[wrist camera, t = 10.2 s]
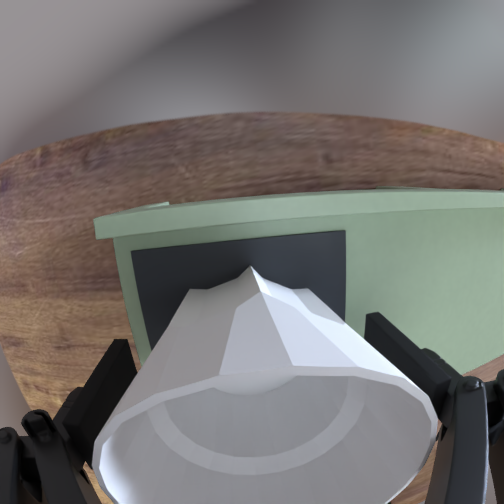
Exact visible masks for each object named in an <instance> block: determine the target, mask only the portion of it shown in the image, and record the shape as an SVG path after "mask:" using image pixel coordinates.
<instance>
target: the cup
mask: <svg viewBox="0 0 504 504" xmlns="http://www.w3.org/2000/svg"><path fill="white" fill-rule="evenodd" d="M437 422H438V417H437V415H436V413H435V410H434V408H433V405H432V403H431V401H430V398H429V396H428V395H427V394H426V393H424V392H423V391H422V390H421V389H420V388H419V387H418V386H417V385H415V384H414V383H413V382H412V381H411V380H410V379H409V378H407V377H406V376H405V375H404V374H403V373H402V372H401V371H400V370H398V369H397V368H396V367H395V366H394V365H393V364H392V363H390V362H389V361H388V360H387V359H386V358H385V357H384V356H383V355H381V354H380V353H379V352H378V351H377V350H376V349H375V348H373V347H372V346H371V345H370V344H369V343H368V342H367V341H365V340H364V339H363V338H362V337H361V336H360V335H359V334H357V333H356V332H355V331H354V330H353V329H352V328H351V327H349V326H348V325H347V324H346V323H345V322H344V321H343V320H342V319H341V318H340V317H339V316H338V315H337V314H336V313H334V312H333V311H332V310H331V309H330V308H329V307H328V306H327V305H326V304H325V303H324V302H322V301H321V300H320V299H319V298H318V297H317V296H316V295H315V294H314V293H313V292H311V291H310V290H309V289H308V288H305V289H289V288H287V287H284V286H281V285H279V284H276V283H274V282H271V281H269V280H266V279H264V278H262V277H261V276H260V275H259V274H258V273H257V272H256V271H255V270H254V268H253V267H252V266H251V265H250V266H249V267H248V268H247V269H246V270H245V271H244V272H243V273H242V274H241V275H240V276H239V277H238V278H236V279H234V280H231V281H228V282H226V283H223V284H221V285H218V286H216V287H213V288H210V289H208V290H206V289H189V291H188V293H187V294H186V296H185V298H184V300H183V301H182V303H181V305H180V306H179V308H178V310H177V311H176V313H175V315H174V317H173V318H172V320H171V322H170V324H169V326H168V327H167V329H166V330H165V332H164V333H163V335H162V336H161V338H160V340H159V341H158V343H157V344H156V346H155V347H154V349H153V350H152V352H151V353H150V355H149V356H148V358H147V359H146V361H145V363H144V364H143V366H142V367H141V369H140V370H139V372H138V373H137V375H136V376H135V378H134V379H133V381H132V383H131V384H130V386H129V387H128V389H127V390H126V392H125V393H124V395H123V397H122V398H121V400H120V401H119V403H118V405H117V406H116V408H115V409H114V411H113V412H112V414H111V416H110V417H109V419H108V420H107V422H106V424H105V425H104V427H103V428H102V430H101V432H100V433H99V435H98V436H97V438H96V440H95V442H94V450H93V459H92V467H93V470H94V473H95V475H96V478H97V480H98V483H99V485H100V487H101V489H102V490H103V491H104V492H105V494H106V495H107V496H108V497H109V498H110V499H111V500H112V502H113V503H114V504H387V503H388V502H390V501H391V500H392V499H393V498H394V497H396V496H397V495H398V494H399V493H400V492H401V491H403V490H404V489H405V488H406V487H407V486H408V485H409V484H410V482H411V481H412V480H413V479H414V478H415V476H416V475H417V474H418V473H419V471H420V470H421V469H422V467H423V466H424V465H425V463H426V461H427V459H428V457H429V455H430V453H431V450H432V448H433V446H434V444H435V441H436V432H437Z"/></svg>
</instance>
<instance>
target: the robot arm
mask: <svg viewBox="0 0 504 504" xmlns="http://www.w3.org/2000/svg"><path fill="white" fill-rule="evenodd" d="M364 340H365V341H367V342H368V343H369V344H370V345H371V346H372V347H373V348H375V349H376V350H377V351H378V352H379V353H380V354H381V355H383V356H384V357H385V358H386V359H387V360H388V361H389V362H390V363H392V364H393V365H394V366H395V367H396V368H397V369H398V370H400V371H401V372H402V373H403V374H404V375H405V376H406V377H407V378H409V379H410V380H411V381H412V382H413V383H414V384H415V385H417V386H418V387H419V388H420V389H421V390H422V391H423V392H424V393H426V394H427V395H428V396H429V398H430V401H431V403H432V405H433V408H434V410H435V413H436V415H437V417H438V419H439V420H440V421H441V422H442V425H441V428H440V430H439V432H438V434H437V437H436V441H437V440H438V445H437V451H436V457H435V462H434V467H433V472H432V476H431V481H430V485H429V489H428V493H427V497H426V501H425V504H485V498H486V488H487V475H488V461H489V465H490V469H491V473H492V478H493V483H494V488H495V494H496V500H497V504H504V369H503V370H501V371H500V372H498V375H497V377H496V380H494V381H490V382H483V381H482V380H481V379H479V378H477V377H473V376H465V377H463V376H462V375H461V374H459V373H458V372H457V371H456V370H455V369H454V368H453V367H452V366H450V365H449V364H448V363H446V361H445V360H444V359H441V357H440V356H439V355H438V354H437V353H436V352H434V351H432V350H430V349H427V348H423V349H420V348H419V347H418V346H417V345H416V344H415V343H413V342H412V341H411V340H410V339H409V338H408V337H407V336H406V335H404V334H403V333H402V332H401V331H400V330H399V329H398V328H397V327H395V326H394V325H393V324H392V323H391V322H390V321H389V320H388V319H386V318H385V317H384V316H383V315H382V314H381V313H380V312H373V313H368V314H366V319H365V332H364ZM136 375H137V370H136V367H135V364H134V360H133V357H132V354H131V350H130V347H129V343H128V340H127V339H114V341H113V342H112V344H111V345H110V347H109V348H108V350H107V351H106V353H105V354H104V356H103V357H102V359H101V360H100V362H99V363H98V365H97V366H96V368H95V370H94V371H93V373H92V374H91V376H90V377H89V379H88V381H87V382H86V384H85V385H84V387H77V388H76V389H74V390H73V391H72V392H71V393H70V394H69V395H68V397H67V398H66V401H65V402H64V403H63V405H62V407H61V408H60V409H59V411H58V413H57V414H56V416H55V417H54V419H53V421H52V419H51V417H50V416H49V414H48V412H46V411H45V410H41V409H37V410H33V411H30V412H28V413H27V414H26V415H25V416H24V417H23V419H22V422H21V424H22V426H23V427H24V429H25V431H26V432H27V434H28V435H29V436H19V435H18V434H17V432H16V431H15V430H14V429H13V428H11V427H5V428H1V429H0V504H102V503H101V501H100V499H99V498H98V496H97V494H96V492H95V490H94V488H93V486H92V484H91V482H90V480H89V477H88V475H87V473H86V471H85V470H84V469H83V465H84V463H85V461H86V462H87V464H88V465H89V467H90V468H91V469H93V467H92V459H93V450H94V442H95V440H96V438H97V436H98V435H99V433H100V432H101V430H102V428H103V427H104V425H105V424H106V422H107V420H108V419H109V417H110V416H111V414H112V412H113V411H114V409H115V408H116V406H117V405H118V403H119V401H120V400H121V398H122V397H123V395H124V393H125V392H126V390H127V389H128V387H129V386H130V384H131V383H132V381H133V379H134V378H135V376H136ZM438 438H439V439H438Z"/></svg>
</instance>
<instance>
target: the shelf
mask: <svg viewBox="0 0 504 504" xmlns="http://www.w3.org/2000/svg"><path fill="white" fill-rule="evenodd" d="M93 221H94V228H95V235H96V239H97V240H101V239H108V238H113V244H114V250H115V256H116V262H117V267H118V272H119V278H120V283H121V288H122V292H123V297H124V302H125V306H126V310H127V315H128V319H129V323H130V327H131V331H132V334H133V338H134V342H135V346H136V349H137V353H138V356H139V360H140V363H141V366H143V364H144V363H145V361H146V359H147V358H148V356H149V355H150V353H151V352H152V350H153V349H154V347H155V346H156V344H157V343H158V341H159V340H160V338H161V336H162V335H163V333H164V332H165V330H166V329H167V327H168V326H169V324H170V322H171V320H172V318H173V317H174V315H175V313H176V311H177V310H178V308H179V306H180V305H181V303H182V301H183V300H184V298H185V296H186V294H187V293H188V291H189V289H206V290H208V289H210V288H213V287H216V286H218V285H221V284H223V283H226V282H228V281H231V280H234V279H236V278H238V277H239V276H240V275H241V274H242V273H243V272H244V271H245V270H246V269H247V268H248V267H249V266H250V265H251V266H252V267H253V268H254V270H255V271H256V272H257V273H258V274H259V275H260V276H261V277H262V278H264V279H266V280H269V281H271V282H274V283H276V284H279V285H281V286H284V287H287V288H289V289H305V288H308V289H309V290H310V291H311V292H313V293H314V294H315V295H316V296H317V297H318V298H319V299H320V300H321V301H322V302H324V303H325V304H326V305H327V306H328V307H329V308H330V309H331V310H332V311H333V312H334V313H336V314H337V315H338V316H339V317H340V318H341V319H342V320H343V321H344V322H345V323H346V324H347V325H348V326H349V327H351V328H352V329H353V330H354V331H355V332H356V333H357V334H359V335H360V336H361V337H362V338H363V339H364V332H365V319H366V314H368V313H373V312H380V313H381V314H382V315H383V316H384V317H385V318H386V319H388V320H389V321H390V322H391V323H392V324H393V325H394V326H395V327H397V328H398V329H399V330H400V331H401V332H402V333H403V334H404V335H406V336H407V337H408V338H409V339H410V340H411V341H412V342H413V343H415V344H416V345H417V346H418V347H419V348H420V349H423V348H427V349H430V350H432V351H434V352H436V353H437V354H438V355H439V356H440V357H441V359H444V360H445V361H446V363H448V364H449V365H450V366H452V367H453V368H454V369H455V370H456V371H457V372H458V373H459V374H461V375H462V374H464V373H467V372H469V371H471V370H473V369H475V368H477V367H479V366H481V365H483V364H485V363H487V362H489V361H491V360H493V359H495V358H497V357H499V356H501V355H502V354H504V189H501V191H497V190H472V189H436V188H419V187H398V186H377V187H376V189H372V190H343V191H321V192H304V193H288V194H274V195H261V196H249V197H238V198H227V199H217V200H207V201H198V202H189V203H181V204H172V205H169V202H162V203H154V204H149V205H144V206H140V207H136V208H132V209H128V210H124V211H120V212H116V213H112V214H108V215H104V216H101V217H97V218H94V220H93Z"/></svg>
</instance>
